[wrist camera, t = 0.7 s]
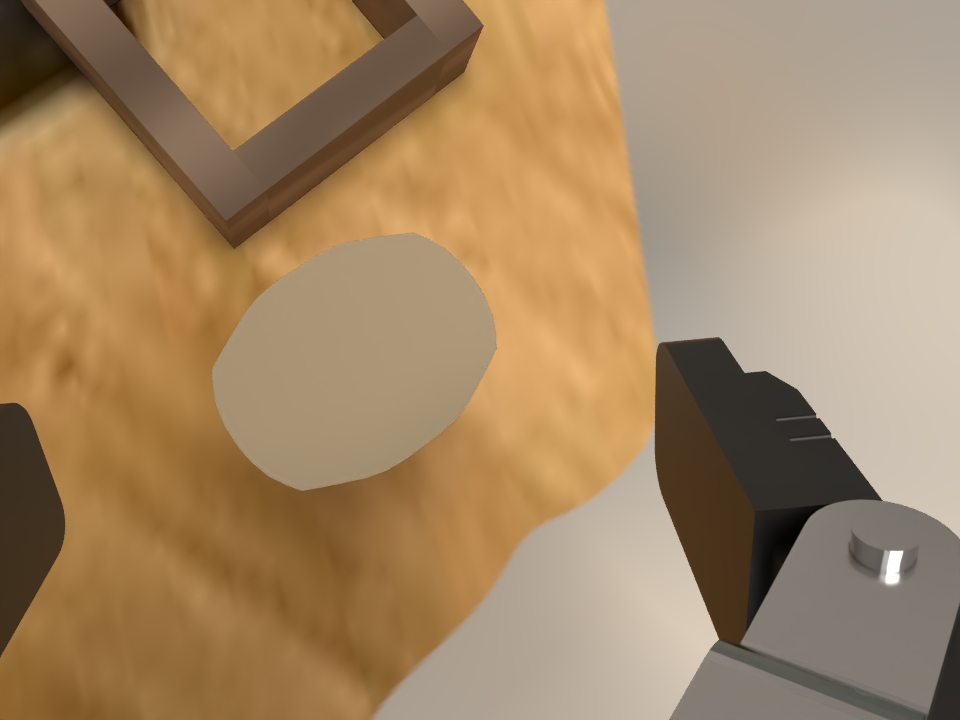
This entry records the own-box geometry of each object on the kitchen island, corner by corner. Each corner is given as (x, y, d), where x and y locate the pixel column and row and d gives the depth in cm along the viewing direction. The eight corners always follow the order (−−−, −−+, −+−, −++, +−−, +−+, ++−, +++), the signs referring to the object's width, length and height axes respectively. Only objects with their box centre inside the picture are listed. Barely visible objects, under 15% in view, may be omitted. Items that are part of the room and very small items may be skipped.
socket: (24, 7, 34) (-12, -54, 30) (273, -155, 36) (270, -230, 32) (234, 248, 34) (225, 220, 30) (464, 71, 37) (483, 25, 33)
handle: (225, 401, 33) (168, 352, 19) (364, 305, 35) (411, 191, 20) (301, 504, 34) (303, 535, 19) (436, 404, 35) (535, 363, 20)
